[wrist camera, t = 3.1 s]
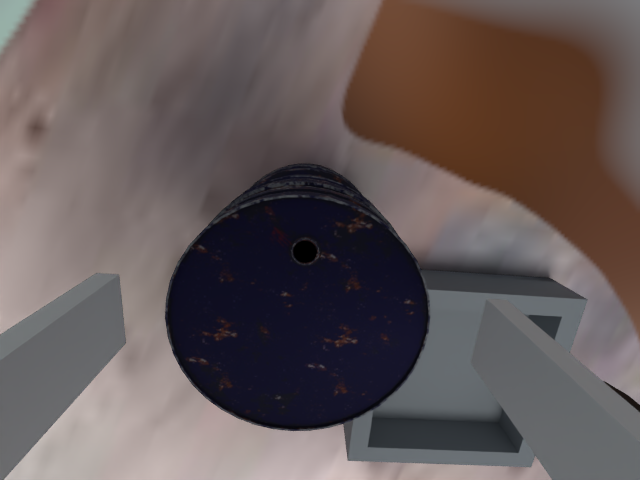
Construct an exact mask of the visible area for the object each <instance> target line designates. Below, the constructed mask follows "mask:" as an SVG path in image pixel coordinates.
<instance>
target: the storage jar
mask: <svg viewBox="0 0 640 480" xmlns="http://www.w3.org/2000/svg"><path fill="white" fill-rule="evenodd" d="M165 320H166V327H167V334H168V339H169V342H170V345H171V348H172V351H173V354H174V356H175V358H176V360H177V362H178V364H179V366H180V368H181V370H182V371H183V373H184V374H185V375H186V377H187V378H188V379H189V381H190V382H191V383H192V385H193V386H194V387H195V388H196V389H197V390H198V391H199V392H200V393H201V394H202V395H203V396H204V397H205V398H206V399H208V400H209V401H210V402H212V403H213V404H215V405H216V406H217V407H219V408H220V409H221V410H223V411H225V412H227V413H229V414H231V415H233V416H234V417H236V418H238V419H241V420H244V421H246V422H249V423H252V424H254V425H258V426H263V427H267V428H271V429H278V430H288V431H311V430H317V429H324V428H330V427H333V426H337V425H340V424H344V423H347V422H350V421H352V420H354V419H357V418H359V417H361V416H364V415H365V414H367V413H369V412H370V411H372V410H374V409H375V408H377V407H379V406H380V405H381V404H383V403H384V402H385V401H386V400H388V399H389V398H390V397H391V396H393V395H394V394H395V393H396V392H397V390H398V389H399V388H400V387H401V386H402V385H403V384H404V383H405V382H406V381H407V379H408V378H409V376H410V375H411V373H412V372H413V370H414V369H415V367H416V366H417V363H418V361H419V359H420V357H421V355H422V353H423V351H424V347H425V344H426V340H427V337H428V333H429V325H430V300H429V294H428V289H427V285H426V281H425V278H424V276H423V273H422V271H421V269H420V267H419V264H418V262H417V260H416V259H415V257H414V256H413V254H412V253H411V251H410V250H409V248H408V247H407V245H406V244H405V243H404V242H403V241H402V239H401V238H400V237H399V236H398V234H397V233H396V231H395V230H394V228H393V227H392V225H391V224H390V223H389V222H388V221H387V220H386V219H385V218H384V216H383V215H382V214H381V213H380V212H379V211H378V210H377V209H376V208H375V207H374V205H373V204H372V203H371V202H370V201H369V200H367V199H366V198H365V197H363V196H362V194H361V193H360V192H359V191H358V189H357V188H356V187H355V186H354V185H353V184H352V183H351V182H350V181H348V180H347V179H346V178H344V177H343V176H342V175H340V174H338V173H336V172H334V171H332V170H330V169H329V168H326V167H323V166H320V165H314V164H294V165H288V166H285V167H282V168H279V169H277V170H275V171H273V172H271V173H269V174H267V175H265V176H264V177H263V178H261V179H260V180H259V181H257V182H256V183H255V184H254V185H253V186H252V187H251V188H250V189H249V190H247V191H245V192H244V193H243V194H241V195H240V196H239V197H237V198H236V199H235V200H233V201H232V202H231V203H230V204H229V205H228V206H227V207H226V208H224V209H223V210H222V211H221V212H220V213H219V214H218V215H217V216H216V217H215V218H214V219H213V220H212V221H211V223H210V224H209V225H208V226H207V227H206V228H205V229H204V230H203V231H202V232H201V233H200V234H199V235H198V236H197V237H196V238H195V239H194V240H193V241H192V243H191V244H190V245H189V246H188V248H187V249H186V251H185V252H184V254H183V255H182V257H181V258H180V260H179V261H178V263H177V266H176V268H175V270H174V273H173V275H172V277H171V280H170V284H169V288H168V293H167V297H166V312H165Z"/></svg>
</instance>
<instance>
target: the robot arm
mask: <svg viewBox="0 0 640 480" xmlns="http://www.w3.org/2000/svg"><path fill="white" fill-rule="evenodd" d="M125 343H126V339H125V328H124V318H123V308H122V298H121V288H120V278H119V274H103V273H96V274H94V275H93V276H91V277H90V278H88V279H86V280H85V281H83V282H82V283H80V284H79V285H77V286H75V287H74V288H72V289H71V290H69V291H68V292H66V293H65V294H63V295H61V296H60V297H58V298H57V299H55V300H54V301H52V302H50V303H49V304H47V305H46V306H44V307H43V308H41V309H40V310H38V311H36V312H35V313H33V314H32V315H30V316H29V317H27V318H25V319H24V320H22V321H21V322H19V323H18V324H16V325H15V326H13V327H11V328H10V329H8V330H7V331H5V332H4V333H2V334H0V480H4V479H5V477H6V476H7V475H8V474H9V473H10V472H11V471H12V470H13V468H14V467H15V466H16V465H17V464H18V463H19V462H20V461H21V460H22V458H23V457H24V456H25V455H26V454H27V453H28V452H29V451H30V449H31V448H32V447H33V446H34V445H35V444H36V443H37V442H38V441H39V439H40V438H41V437H42V436H43V435H44V434H45V433H46V432H47V431H48V429H49V428H50V427H51V426H52V425H53V424H54V423H55V422H56V420H57V419H58V418H59V417H60V416H61V415H62V414H63V413H64V412H65V410H66V409H67V408H68V407H69V406H70V405H71V404H72V403H73V402H74V400H75V399H76V398H77V397H78V396H79V395H80V394H81V393H82V391H83V390H84V389H85V388H86V387H87V386H88V385H89V384H90V383H91V381H92V380H93V379H94V378H95V377H96V376H97V375H98V374H99V372H100V371H101V370H102V369H103V368H104V367H105V366H106V365H107V364H108V362H109V361H110V360H111V359H112V358H113V357H114V356H115V355H116V354H117V352H118V351H119V350H120V349H121V348H122V347H123V346H124V345H125ZM471 364H472V365H473V367H474V368H475V370H476V371H477V372H478V374H479V375H480V377H481V378H482V380H483V381H484V383H485V384H486V385H487V387H488V388H489V390H490V391H491V393H492V394H493V395H494V397H495V398H496V400H497V401H498V403H499V404H500V405H501V407H502V408H503V410H504V411H505V413H506V414H507V415H508V417H509V418H510V420H511V421H512V423H513V424H514V426H515V427H516V428H517V430H518V431H519V433H520V434H521V436H522V437H523V438H524V440H525V441H526V443H527V444H528V446H529V447H530V448H531V450H532V451H533V453H534V454H535V456H536V457H537V459H538V460H539V461H540V463H541V464H542V466H543V467H544V469H545V470H546V471H547V473H548V474H549V476H550V477H551V479H552V480H640V405H639V404H638V403H637V402H635V401H634V400H633V399H632V398H631V397H629V396H628V395H627V394H625V393H623V392H622V391H620V390H618V389H616V388H615V387H613V386H611V385H610V384H608V383H606V382H605V381H602V380H601V379H600V378H599V377H597V376H596V375H595V374H594V373H593V372H591V371H590V370H589V369H588V368H587V367H586V366H584V365H583V364H582V363H581V362H580V361H578V360H577V359H576V358H575V357H574V356H573V355H571V354H570V353H569V352H568V351H567V350H565V349H564V348H563V347H562V346H561V345H560V344H558V343H557V342H556V341H555V340H554V339H552V338H551V337H550V336H549V335H548V334H547V333H545V332H544V331H543V330H542V329H541V328H539V327H538V326H537V325H536V324H535V323H534V322H532V321H531V320H530V319H529V318H528V317H526V316H525V315H524V314H523V313H522V312H521V311H519V310H518V309H517V308H516V307H515V306H513V305H512V304H511V303H510V302H509V301H508V300H499V299H486V303H485V307H484V311H483V315H482V319H481V323H480V327H479V331H478V335H477V339H476V343H475V347H474V351H473V355H472V359H471Z"/></svg>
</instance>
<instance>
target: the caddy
mask: <svg viewBox="0 0 640 480" xmlns="http://www.w3.org/2000/svg"><path fill="white" fill-rule="evenodd" d="M421 271H422V273H423V276H424V278H425V281H426V285H427V289H428V294H429V300H430V325H429V333H428V337H427V340H426V344H425V347H424V351H423V353H422V355H421V357H420V359H419V361H418V363H417V366H416V367H415V369H414V370H413V372H412V373H411V375H410V376H409V378H408V379H407V381H406V382H405V383H404V384H403V385H402V386H401V387H400V388H399V389H398V390H397V392H396V393H395V394H394V395H393V396H391V397H390V398H389V399H388V400H386V401H385V402H384V403H383V404H381V405H380V406H379V407H377V408H375V409H374V410H372V411H370V412H369V413H367V414H365V415H364V416H361V417H359V418H357V419H354V420H352V421H350V422H347V423H344V424H343V425H344V433H345V441H346V450H347V458H348V461H373V462H401V463H429V464H458V465H486V466H514V467H531V466H532V463H533V460H534V457H535V454H534V453H533V451H532V450H531V448H530V447H529V446H528V444H527V443H526V441H525V440H524V438H523V437H522V436H521V434H520V433H519V431H518V430H517V428H516V427H515V426H514V424H513V423H512V421H511V420H510V418H509V417H508V415H507V414H506V413H505V411H504V410H503V408H502V407H501V405H500V404H499V403H498V401H497V400H496V398H495V397H494V395H493V394H492V393H491V391H490V390H489V388H488V387H487V385H486V384H485V383H484V381H483V380H482V378H481V377H480V375H479V374H478V372H477V371H476V370H475V368H474V367H473V365H472V364H471V359H472V355H473V351H474V347H475V343H476V339H477V335H478V331H479V327H480V323H481V319H482V315H483V311H484V307H485V303H486V299H499V300H508V301H509V302H510V303H511V304H512V305H513V306H515V307H516V308H517V309H518V310H519V311H521V312H522V313H523V314H524V315H525V316H526V317H528V318H529V319H530V320H531V321H532V322H534V323H535V324H536V325H537V326H538V327H539V328H541V329H542V330H543V331H544V332H545V333H547V334H548V335H549V336H550V337H551V338H552V339H554V340H555V341H556V342H557V343H558V344H560V345H561V346H562V347H563V348H564V349H565V350H567V351H568V352H569V353H570V350H571V347H572V344H573V341H574V338H575V335H576V332H577V329H578V326H579V323H580V320H581V317H582V314H583V311H584V309H585V306H586V303H587V299H586V298H584V297H582V296H580V295H579V294H577V293H575V292H573V291H572V290H570V289H568V288H566V287H565V286H563V285H561V284H560V283H558V282H556V281H554V280H553V279H551V278H541V277H526V276H511V275H496V274H481V273H466V272H451V271H435V270H421Z"/></svg>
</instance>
